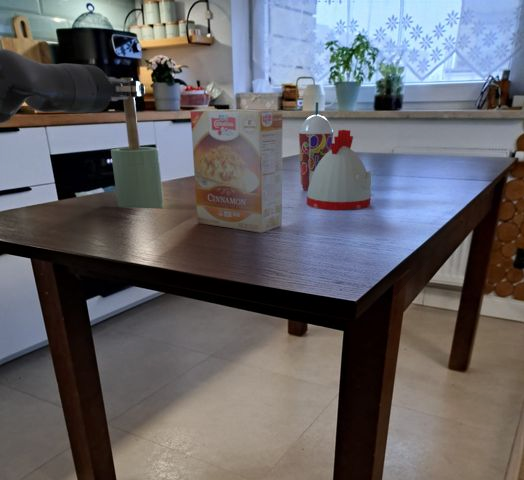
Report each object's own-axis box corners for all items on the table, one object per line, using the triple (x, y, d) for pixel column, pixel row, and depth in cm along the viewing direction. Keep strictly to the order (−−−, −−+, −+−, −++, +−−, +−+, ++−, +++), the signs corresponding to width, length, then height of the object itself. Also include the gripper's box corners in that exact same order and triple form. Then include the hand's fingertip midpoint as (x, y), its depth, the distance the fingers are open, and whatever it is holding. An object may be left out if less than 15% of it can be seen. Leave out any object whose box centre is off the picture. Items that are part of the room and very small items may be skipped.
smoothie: (327, 192, 127) (331, 102, 118) (294, 191, 129) (295, 102, 120) (333, 187, 134) (337, 102, 125) (301, 186, 136) (303, 102, 127)
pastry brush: (126, 186, 108) (113, 77, 99) (134, 183, 111) (122, 78, 102) (142, 186, 107) (130, 77, 98) (149, 184, 110) (139, 78, 101)
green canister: (110, 212, 108) (102, 151, 103) (131, 203, 116) (124, 146, 111) (152, 213, 106) (146, 151, 101) (170, 205, 114) (165, 147, 109)
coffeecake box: (196, 223, 98) (188, 109, 89) (219, 216, 103) (214, 108, 94) (261, 233, 90) (260, 110, 81) (283, 225, 95) (284, 109, 86)
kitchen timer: (380, 202, 115) (387, 129, 108) (352, 212, 105) (357, 133, 99) (326, 196, 123) (329, 127, 116) (294, 205, 113) (296, 130, 106)
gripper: (50, 112, 93) (111, 110, 108) (112, 112, 88) (168, 110, 103) (42, 65, 90) (106, 69, 104) (106, 62, 85) (164, 67, 99)
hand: (137, 89), depth 103 cm, fingers closed on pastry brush, 2 cm apart
